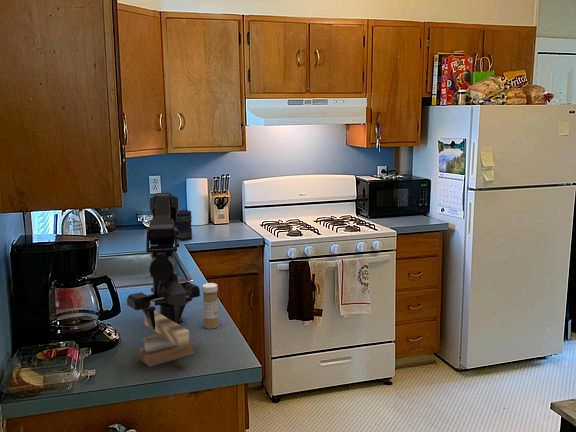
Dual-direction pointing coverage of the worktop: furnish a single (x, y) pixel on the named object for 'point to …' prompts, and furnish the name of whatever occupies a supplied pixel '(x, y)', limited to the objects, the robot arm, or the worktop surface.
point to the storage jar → (184, 225)
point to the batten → (169, 329)
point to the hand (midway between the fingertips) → (165, 326)
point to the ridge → (162, 350)
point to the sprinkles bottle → (210, 305)
